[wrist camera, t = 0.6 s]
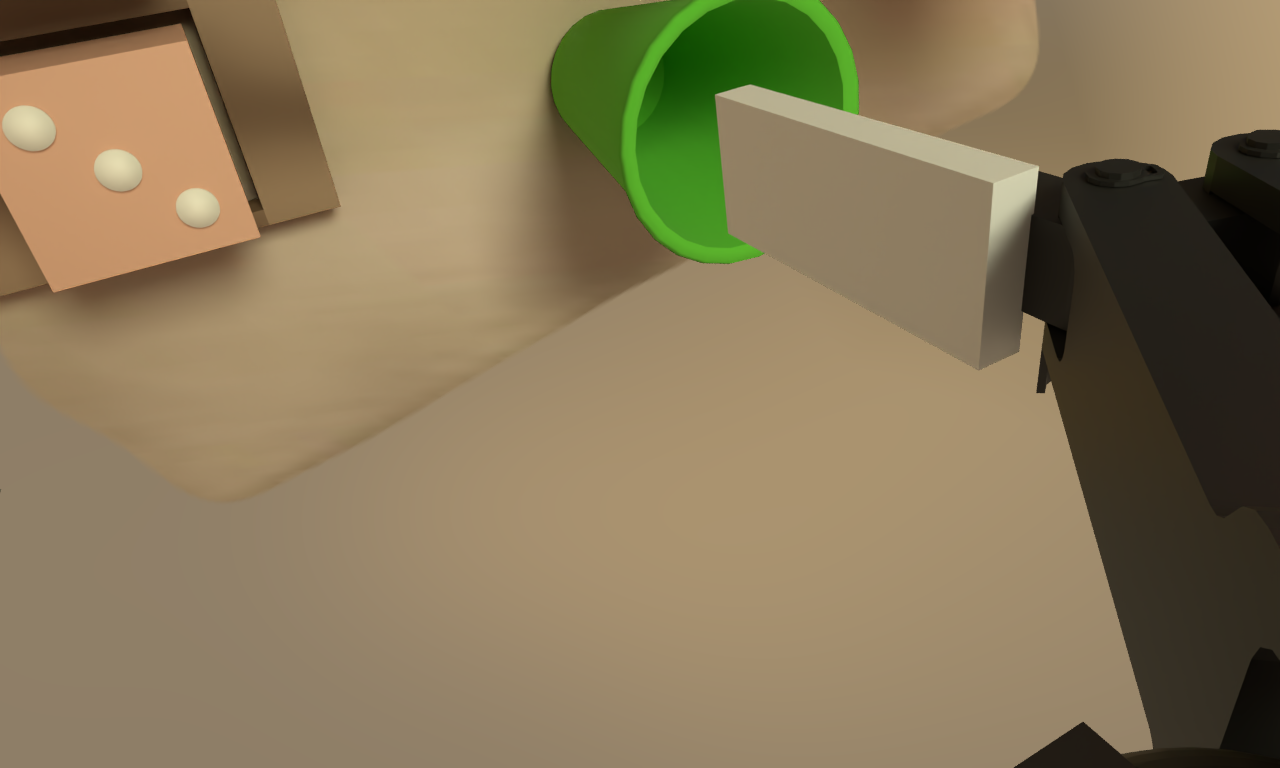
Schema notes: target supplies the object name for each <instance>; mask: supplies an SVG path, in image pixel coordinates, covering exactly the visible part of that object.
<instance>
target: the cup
mask: <svg viewBox="0 0 1280 768" xmlns="http://www.w3.org/2000/svg"><path fill="white" fill-rule="evenodd" d="M746 85H754V86H757V87H761V88H764V89H768V90H771V91H775V92H779V93H782V94H786V95H789V96H793V97H796V98H800V99H803V100H807V101H810V102H814V103H817V104H821V105H824V106H828V107H831V108H835V109H839V110H842V111H846V112H849V113H853V114H856V115H858V114H859V81H858V76H857V71H856V67H855V62H854V58H853V53H852V50H851V48H850V45H849V43H848V41H847V39H846V37H845V35H844V33H843V31H842V29H841V27H840V25H839V23H838V21H837V20H836V19H835V17H834V16H833V15H832V14H831V13H830V12H829V11H828V10H827V8H826V7H825V6H824V5H823V4H822V3H821V2H820V0H670V1H663V2H656V3H648V4H641V5H634V6H627V7H620V8H613V9H606V10H599V11H596V12H594V13H592V14H589V15H587V16H585V17H583V18H582V19H581V20H580V21H578V22H577V23H576V24H574V25H573V26H572V27H571V28H570V30H569V31H568V32H567V33H566V35H565V36H564V37H563V38H562V40H561V43H560V45H559V47H558V49H557V51H556V53H555V57H554V61H553V65H552V69H551V88H552V93H553V98H554V103H555V105H556V107H557V109H558V111H559V113H560V116H561V117H562V118H563V120H564V121H565V122H566V123H567V125H568V126H569V127H570V128H571V129H572V131H573V132H574V133H575V134H576V135H577V136H578V137H579V139H580V140H581V141H582V142H583V143H584V144H585V145H586V147H587V148H588V149H589V150H590V151H591V152H592V153H593V155H594V156H595V157H596V158H597V159H598V160H599V161H600V163H601V164H602V165H603V166H604V167H605V168H606V169H607V171H608V172H609V173H610V174H611V175H612V176H613V177H614V179H615V180H616V181H617V182H618V183H619V184H620V185H621V187H622V188H623V189H624V190H625V191H626V193H627V196H628V198H629V200H630V203H631V205H632V207H633V209H634V212H635V214H636V216H637V218H638V219H639V220H640V222H641V223H642V224H643V225H644V227H645V228H646V229H647V230H648V232H649V233H650V234H651V235H652V237H653V238H654V239H655V240H656V241H658V242H659V243H660V244H662V245H663V246H665V247H666V248H668V249H669V250H670V251H672V252H673V253H675V254H676V255H678V256H681V257H685V258H688V259H691V260H694V261H697V262H700V263H720V264H730V263H734V262H738V261H742V260H746V259H751V258H755V257H759V256H761V255H763V254H765V253H763V252H761V251H759V250H758V249H756V248H754V247H752V246H750V245H748V244H747V243H745V242H743V241H741V240H739V239H738V238H736V237H734V236H732V235H730V234H728V227H727V216H726V206H725V195H724V185H723V174H722V164H721V153H720V143H719V132H718V121H717V111H716V100H715V94H719V93H722V92H726V91H729V90H732V89H736V88H739V87H743V86H746Z"/></svg>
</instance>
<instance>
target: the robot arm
mask: <svg viewBox="0 0 1280 768" xmlns="http://www.w3.org/2000/svg"><path fill="white" fill-rule="evenodd" d="M715 100H716V111H717V121H718V132H719V143H720V153H721V164H722V174H723V185H724V195H725V206H726V216H727V227H728V234H730V235H732V236H734V237H736V238H738V239H739V240H741V241H743V242H745V243H747V244H748V245H750V246H752V247H754V248H756V249H758V250H759V251H761V252H763V253H765V254H767V255H769V256H770V257H772V258H774V259H776V260H778V261H780V262H781V263H783V264H785V265H787V266H789V267H791V268H793V269H794V270H796V271H798V272H800V273H802V274H803V275H805V276H807V277H809V278H811V279H813V280H814V281H816V282H818V283H820V284H822V285H823V286H825V287H827V288H829V289H831V290H833V291H834V292H836V293H838V294H840V295H842V296H844V297H845V298H847V299H849V300H851V301H853V302H855V303H856V304H858V305H860V306H862V307H864V308H866V309H867V310H869V311H871V312H873V313H875V314H876V315H878V316H880V317H883V318H884V319H886V320H888V321H890V322H891V323H893V324H895V325H897V326H898V327H900V328H902V329H904V330H906V331H908V332H909V333H911V334H913V335H915V336H917V337H919V338H920V339H922V340H924V341H926V342H928V343H930V344H932V345H933V346H935V347H937V348H939V349H941V350H942V351H944V352H946V353H948V354H950V355H952V356H953V357H955V358H957V359H959V360H961V361H963V362H964V363H966V364H968V365H970V366H972V367H973V368H975V369H977V370H980V369H983V368H985V367H987V366H989V365H991V364H993V363H996V362H998V361H1000V360H1002V359H1004V358H1006V357H1009V356H1011V355H1013V354H1015V353H1017V352H1019V347H1020V338H1021V328H1022V319H1023V312H1024V313H1027V314H1029V315H1031V316H1034V317H1036V318H1038V319H1040V320H1042V321H1044V322H1045V328H1044V336H1043V343H1042V351H1041V359H1040V367H1039V376H1038V383H1037V393H1045V389H1046V384H1048V383H1049V382H1050V381H1051V382H1052V385H1053V389H1054V392H1055V396H1056V400H1057V403H1058V407H1059V410H1060V414H1061V417H1062V421H1063V424H1064V427H1065V431H1066V435H1067V438H1068V442H1069V445H1070V449H1071V452H1072V456H1073V460H1074V463H1075V467H1076V470H1077V474H1078V477H1079V481H1080V484H1081V488H1082V491H1083V495H1084V498H1085V502H1086V505H1087V509H1088V512H1089V516H1090V520H1091V523H1092V527H1093V530H1094V534H1095V537H1096V541H1097V544H1098V548H1099V551H1100V555H1101V558H1102V562H1103V565H1104V569H1105V573H1106V576H1107V580H1108V583H1109V587H1110V590H1111V593H1112V597H1113V600H1114V604H1115V608H1116V611H1117V615H1118V619H1119V622H1120V626H1121V629H1122V632H1123V636H1124V640H1125V643H1126V647H1127V650H1128V654H1129V657H1130V661H1131V664H1132V668H1133V671H1134V675H1135V679H1136V682H1137V686H1138V689H1139V693H1140V696H1141V700H1142V703H1143V707H1144V710H1145V714H1146V717H1147V721H1148V724H1149V728H1150V733H1151V737H1152V743H1153V749H1152V750H1144V751H1138V752H1131V753H1125V754H1120V753H1119V752H1118V751H1116V750H1115V749H1114V748H1113V747H1112V746H1111V745H1109V744H1108V743H1107V742H1106V741H1105V740H1103V738H1101V737H1100V736H1099V735H1098V734H1097V733H1096V732H1094V731H1093V730H1092V729H1091V728H1090V727H1088V726H1087V725H1086V724H1085V723H1084V722H1082V723H1080V724H1079V725H1077V726H1076V727H1074V728H1073V729H1071V730H1070V731H1068V732H1067V733H1065V734H1064V735H1062V736H1061V737H1059V738H1058V739H1056V740H1055V741H1053V742H1052V743H1050V744H1049V745H1047V746H1046V747H1044V748H1043V749H1041V750H1040V751H1038V752H1037V753H1035V754H1034V755H1032V756H1030V757H1029V758H1028V759H1026V760H1024V761H1023V762H1022V763H1020V764H1018V765H1017V766H1015V767H1014V768H1280V130H1256V131H1254V132H1251V133H1248V134H1237V135H1233V136H1228V137H1224V138H1221V139H1219V140H1218V141H1216V142H1214V143H1213V144H1212V147H1211V151H1210V156H1209V160H1208V165H1207V169H1206V174H1205V177H1200V178H1194V179H1189V180H1184V181H1179V182H1178V181H1177V180H1176V179H1175V178H1174V176H1173V175H1172V174H1170V173H1169V172H1168V171H1166V170H1165V169H1163V168H1161V167H1159V166H1158V165H1154V164H1147V163H1139V162H1136V161H1133V160H1129V159H1110V160H1104V161H1101V162H1093V163H1086V164H1083V165H1080V166H1076V167H1073V168H1071V169H1070V170H1068V171H1067V172H1066V173H1064V175H1063V178H1061V177H1057V176H1054V175H1050V174H1047V173H1043V172H1040V171H1039V166H1036V165H1033V164H1029V163H1026V162H1022V161H1018V160H1015V159H1011V158H1008V157H1004V156H1001V155H997V154H993V153H990V152H987V151H983V150H979V149H976V148H972V147H969V146H966V145H962V144H958V143H955V142H951V141H948V140H944V139H941V138H937V137H934V136H930V135H927V134H923V133H920V132H916V131H913V130H909V129H906V128H902V127H899V126H895V125H891V124H888V123H884V122H881V121H877V120H874V119H870V118H867V117H863V116H860V115H856V114H853V113H849V112H846V111H842V110H839V109H835V108H831V107H828V106H824V105H821V104H817V103H814V102H810V101H807V100H803V99H800V98H796V97H793V96H789V95H786V94H782V93H779V92H775V91H771V90H768V89H764V88H761V87H757V86H754V85H746V86H743V87H739V88H736V89H732V90H729V91H726V92H722V93H719V94H715ZM0 491H1V489H0Z"/></svg>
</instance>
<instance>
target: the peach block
mask: <svg viewBox="0 0 1280 768" xmlns="http://www.w3.org/2000/svg"><path fill="white" fill-rule="evenodd" d="M0 194H1V196H2V198H3V200H4V201H5V203H6V205H7V207H8V209H9V211H10V213H11V215H12V216H13V218H14V220H15V222H16V224H17V226H18V228H19V229H20V231H21V233H22V235H23V237H24V239H25V241H26V242H27V244H28V246H29V248H30V250H31V252H32V254H33V256H34V257H35V259H36V261H37V263H38V265H39V267H40V269H41V270H42V272H43V274H44V276H45V278H46V280H47V282H48V284H49V285H50V287H51V289H52V291H53V293H54V292H57V291H61V290H65V289H69V288H72V287H76V286H80V285H84V284H87V283H91V282H95V281H99V280H102V279H106V278H110V277H113V276H117V275H121V274H125V273H128V272H132V271H136V270H140V269H143V268H147V267H151V266H155V265H158V264H162V263H166V262H169V261H173V260H177V259H181V258H184V257H188V256H192V255H196V254H199V253H203V252H207V251H211V250H214V249H218V248H222V247H225V246H229V245H233V244H237V243H240V242H244V241H248V240H252V239H255V238H259V237H261V236H260V233H259V230H258V228H257V225H256V222H255V219H254V217H253V214H252V211H251V208H250V206H249V203H248V200H247V198H246V195H245V192H244V190H243V187H242V184H241V182H240V179H239V176H238V174H237V171H236V168H235V166H234V163H233V160H232V158H231V155H230V152H229V150H228V147H227V144H226V142H225V139H224V136H223V134H222V131H221V128H220V126H219V123H218V121H217V118H216V115H215V113H214V110H213V107H212V105H211V102H210V99H209V97H208V94H207V91H206V89H205V86H204V83H203V81H202V78H201V75H200V73H199V70H198V67H197V65H196V62H195V59H194V57H193V54H192V51H191V49H190V46H189V43H188V41H187V38H186V35H185V33H184V30H183V27H182V25H181V24H176V25H170V26H165V27H159V28H154V29H149V30H143V31H138V32H132V33H127V34H121V35H116V36H111V37H105V38H100V39H94V40H89V41H83V42H78V43H72V44H67V45H62V46H56V47H51V48H45V49H40V50H34V51H29V52H24V53H18V54H13V55H7V56H2V57H0Z"/></svg>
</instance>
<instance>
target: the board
mask: <svg viewBox="0 0 1280 768" xmlns="http://www.w3.org/2000/svg"><path fill="white" fill-rule="evenodd" d="M185 8H189V9H190V12H191V15H192V17H193V20H194V23H195V26H196V28H197V31H198V34H199V37H200V39H201V42H202V45H203V47H204V50H205V53H206V56H207V58H208V61H209V64H210V66H211V69H212V72H213V75H214V77H215V80H216V83H217V85H218V88H219V91H220V94H221V96H222V99H223V102H224V104H225V107H226V110H227V113H228V115H229V118H230V121H231V124H232V126H233V129H234V132H235V134H236V137H237V140H238V143H239V145H240V148H241V151H242V153H243V156H244V159H245V162H246V164H247V167H248V170H249V172H250V175H251V178H252V181H253V183H254V186H255V189H256V191H257V194H258V197H259V198H258V199H254V200H250V201H248V203H249V206H250V208H251V211H252V214H253V217H254V219H255V222H256V225H257V228H261V227H265V226H268V225H272V224H276V223H280V222H284V221H287V220H291V219H295V218H299V217H303V216H306V215H310V214H314V213H318V212H321V211H325V210H329V209H333V208H337V207H340V202H339V199H338V196H337V193H336V190H335V187H334V183H333V180H332V177H331V174H330V171H329V168H328V164H327V161H326V158H325V155H324V152H323V149H322V145H321V142H320V139H319V136H318V133H317V130H316V126H315V123H314V120H313V117H312V114H311V111H310V107H309V104H308V101H307V98H306V95H305V92H304V89H303V85H302V82H301V79H300V76H299V73H298V70H297V66H296V63H295V60H294V57H293V54H292V51H291V47H290V44H289V41H288V38H287V35H286V32H285V28H284V25H283V22H282V19H281V16H280V13H279V9H278V6H277V3H276V0H0V42H1V41H6V40H12V39H17V38H23V37H29V36H34V35H40V34H45V33H51V32H56V31H62V30H68V29H73V28H79V27H84V26H90V25H96V24H101V23H107V22H112V21H118V20H124V19H129V18H135V17H140V16H146V15H151V14H157V13H163V12H168V11H174V10H179V9H185ZM45 284H48V282H47V280H46V278H45V276H44V274H43V272H42V270H41V269H40V267H39V265H38V263H37V261H36V259H35V257H34V256H33V254H32V252H31V250H30V248H29V246H28V244H27V242H26V241H25V239H24V237H23V235H22V233H21V231H20V229H19V228H18V226H17V224H16V222H15V220H14V218H13V216H12V215H11V213H10V211H9V209H8V207H7V205H6V203H5V201H4V200H3V198H2V196H1V194H0V296H4V295H7V294H11V293H15V292H19V291H23V290H26V289H30V288H34V287H38V286H41V285H45Z"/></svg>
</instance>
